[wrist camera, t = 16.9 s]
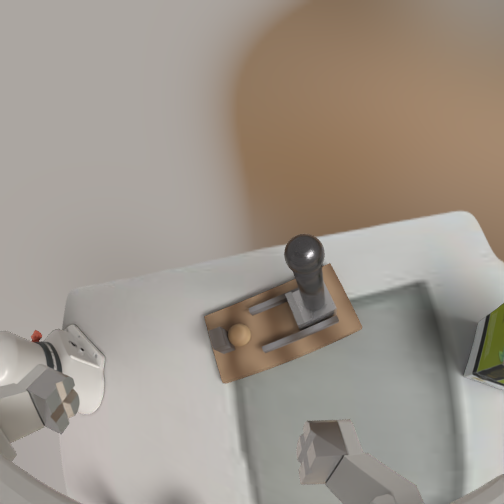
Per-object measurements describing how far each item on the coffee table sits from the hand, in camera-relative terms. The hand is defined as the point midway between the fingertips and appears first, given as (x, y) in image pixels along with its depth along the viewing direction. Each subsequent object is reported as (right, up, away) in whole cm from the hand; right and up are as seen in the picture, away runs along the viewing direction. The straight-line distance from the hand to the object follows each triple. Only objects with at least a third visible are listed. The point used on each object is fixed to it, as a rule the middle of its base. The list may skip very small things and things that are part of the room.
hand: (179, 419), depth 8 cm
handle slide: (+12, -3, +34) cm, 36 cm away
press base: (+7, -6, +36) cm, 37 cm away
